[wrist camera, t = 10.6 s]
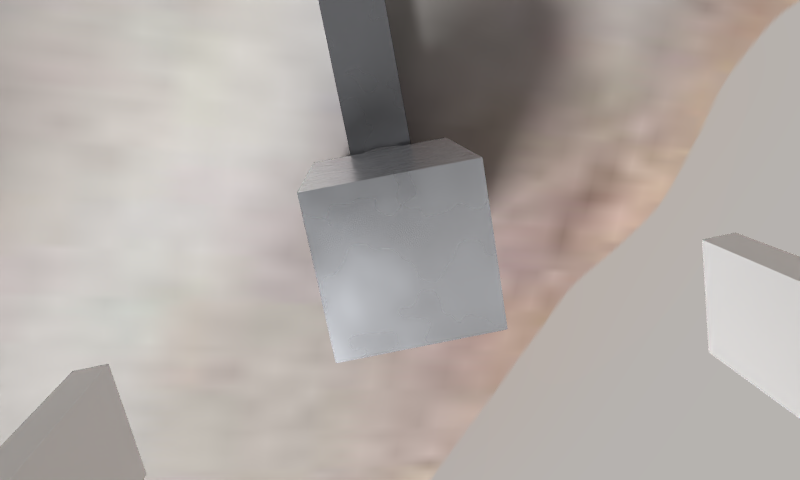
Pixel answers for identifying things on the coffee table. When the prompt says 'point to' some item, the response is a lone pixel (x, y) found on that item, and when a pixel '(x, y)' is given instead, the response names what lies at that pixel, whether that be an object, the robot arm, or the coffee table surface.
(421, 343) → the light grey block
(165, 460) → the coffee table surface
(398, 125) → the ratchet
